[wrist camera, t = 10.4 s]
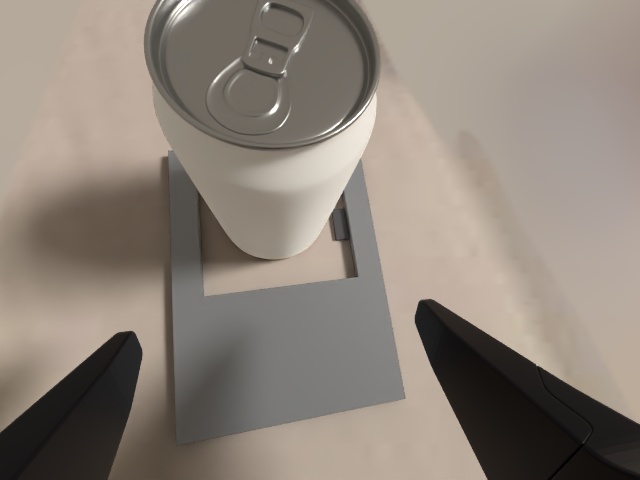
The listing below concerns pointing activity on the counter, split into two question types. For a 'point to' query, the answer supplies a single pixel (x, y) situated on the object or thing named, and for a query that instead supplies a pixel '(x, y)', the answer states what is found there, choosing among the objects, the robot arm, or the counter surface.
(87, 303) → the counter surface
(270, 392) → the board
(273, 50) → the can
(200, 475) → the counter surface
